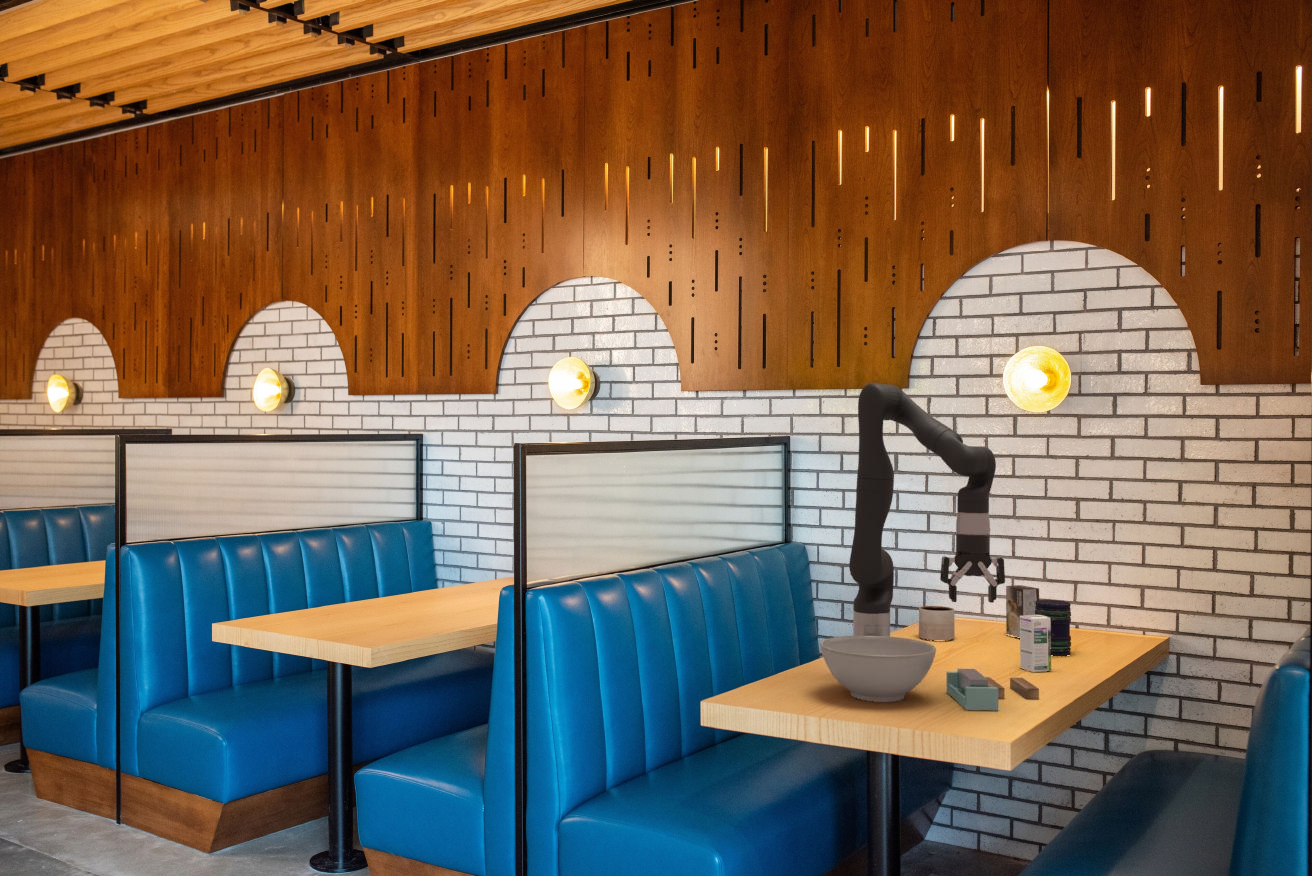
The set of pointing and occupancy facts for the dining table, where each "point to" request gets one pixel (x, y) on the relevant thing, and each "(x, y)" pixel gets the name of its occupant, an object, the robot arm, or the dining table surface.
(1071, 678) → the dining table surface
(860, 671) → the decorative bowl
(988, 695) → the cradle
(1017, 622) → the coffee box
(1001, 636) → the dining table surface
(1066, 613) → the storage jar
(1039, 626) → the syrup box
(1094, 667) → the dining table surface
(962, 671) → the grey rectangular block
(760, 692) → the dining table surface
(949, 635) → the planter
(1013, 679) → the slotted beam
